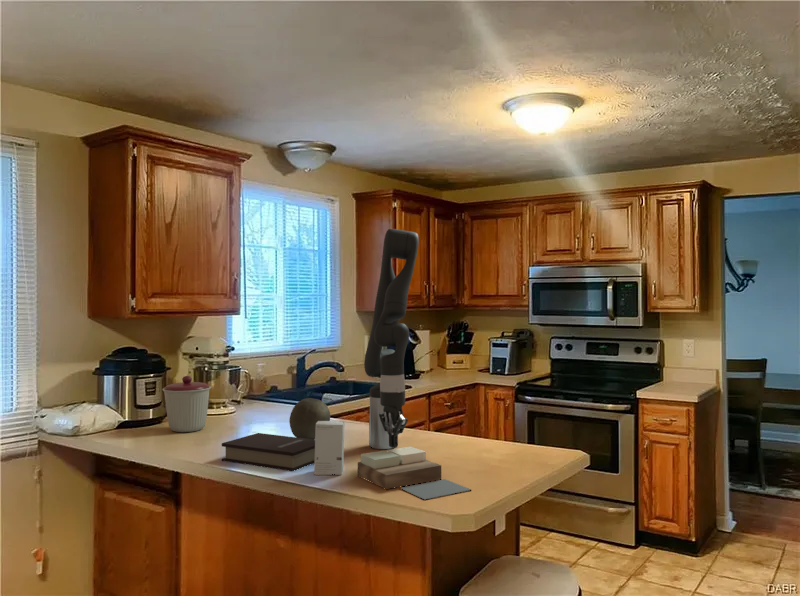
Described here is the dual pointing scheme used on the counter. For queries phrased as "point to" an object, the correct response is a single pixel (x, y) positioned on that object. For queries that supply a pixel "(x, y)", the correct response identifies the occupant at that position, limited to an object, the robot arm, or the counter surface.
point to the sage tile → (379, 459)
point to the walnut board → (401, 474)
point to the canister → (187, 405)
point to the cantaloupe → (308, 417)
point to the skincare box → (329, 448)
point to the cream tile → (409, 454)
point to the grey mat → (435, 489)
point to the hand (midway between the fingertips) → (393, 446)
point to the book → (271, 451)
